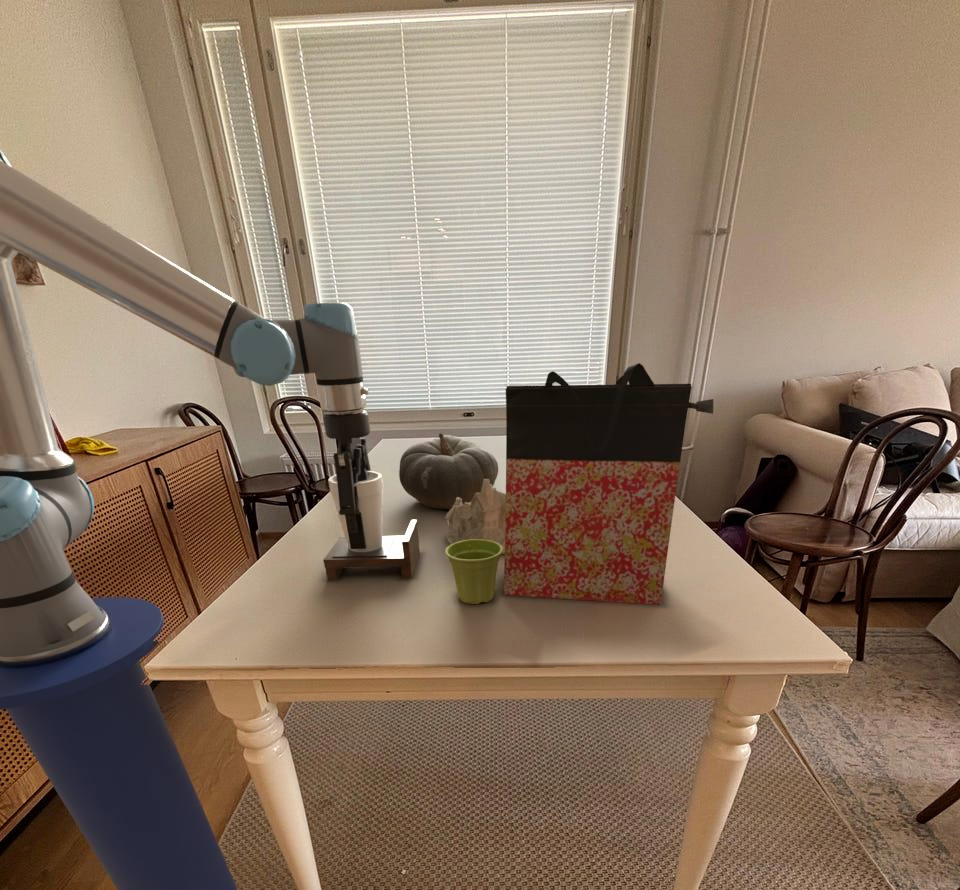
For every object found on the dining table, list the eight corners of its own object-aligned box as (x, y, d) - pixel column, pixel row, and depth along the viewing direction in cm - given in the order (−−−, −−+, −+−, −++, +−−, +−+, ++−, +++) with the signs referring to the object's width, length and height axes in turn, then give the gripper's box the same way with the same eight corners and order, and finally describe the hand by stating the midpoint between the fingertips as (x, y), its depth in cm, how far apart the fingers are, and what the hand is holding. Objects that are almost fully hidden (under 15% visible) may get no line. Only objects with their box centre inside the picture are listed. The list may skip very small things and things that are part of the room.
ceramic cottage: (541, 544, 111) (538, 470, 103) (471, 564, 105) (462, 486, 98) (505, 527, 123) (500, 460, 116) (440, 544, 117) (430, 474, 110)
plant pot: (439, 604, 90) (435, 556, 85) (462, 582, 97) (459, 536, 92) (490, 613, 86) (489, 563, 82) (511, 589, 94) (510, 542, 89)
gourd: (453, 472, 155) (452, 411, 143) (517, 502, 142) (522, 437, 130) (384, 501, 141) (376, 435, 130) (448, 537, 129) (446, 468, 117)
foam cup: (332, 554, 99) (319, 483, 92) (350, 536, 107) (339, 470, 100) (382, 556, 98) (372, 484, 91) (396, 538, 106) (388, 470, 99)
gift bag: (500, 602, 89) (497, 368, 71) (513, 568, 101) (514, 360, 83) (685, 615, 84) (732, 364, 66) (676, 577, 96) (714, 356, 78)
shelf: (326, 580, 100) (319, 543, 96) (342, 555, 110) (336, 521, 106) (412, 578, 99) (408, 541, 95) (420, 553, 109) (417, 519, 105)
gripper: (351, 421, 80) (372, 560, 92) (379, 401, 99) (393, 519, 111) (302, 423, 81) (329, 561, 92) (339, 402, 99) (357, 520, 111)
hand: (364, 538), depth 101 cm, fingers closed on foam cup, 9 cm apart
